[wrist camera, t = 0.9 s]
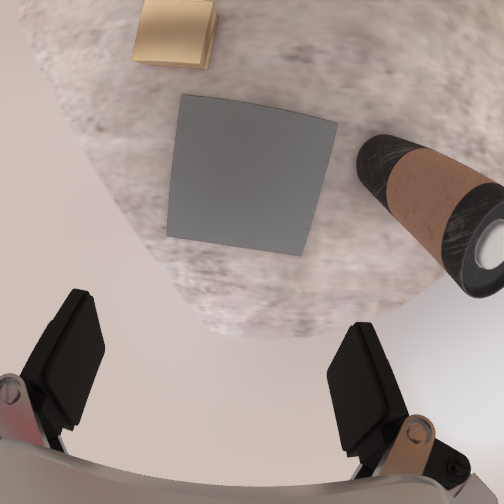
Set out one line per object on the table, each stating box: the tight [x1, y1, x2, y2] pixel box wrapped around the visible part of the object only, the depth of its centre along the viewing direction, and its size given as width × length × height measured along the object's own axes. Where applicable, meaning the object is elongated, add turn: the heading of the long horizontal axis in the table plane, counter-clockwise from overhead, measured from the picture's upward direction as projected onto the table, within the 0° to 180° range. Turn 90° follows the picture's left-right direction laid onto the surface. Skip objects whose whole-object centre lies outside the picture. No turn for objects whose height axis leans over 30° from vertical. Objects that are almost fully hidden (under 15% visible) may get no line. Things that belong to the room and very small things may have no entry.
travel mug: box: [357, 135, 504, 298], centre depth 22 cm, size 8×8×20 cm
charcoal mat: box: [167, 95, 338, 256], centre depth 31 cm, size 16×16×1 cm
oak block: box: [132, 0, 219, 69], centre depth 21 cm, size 6×6×6 cm
